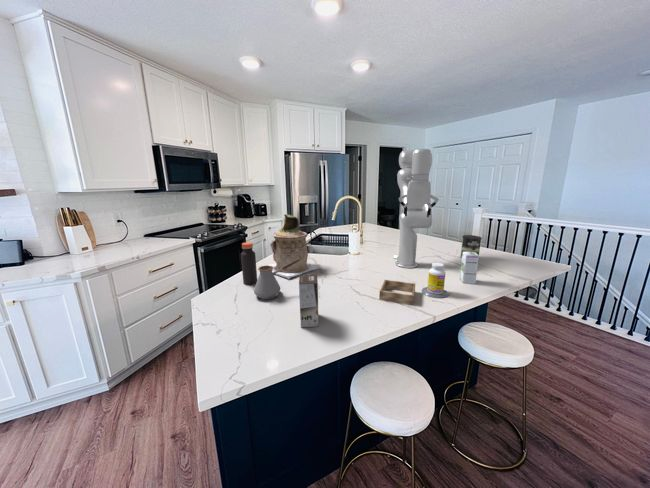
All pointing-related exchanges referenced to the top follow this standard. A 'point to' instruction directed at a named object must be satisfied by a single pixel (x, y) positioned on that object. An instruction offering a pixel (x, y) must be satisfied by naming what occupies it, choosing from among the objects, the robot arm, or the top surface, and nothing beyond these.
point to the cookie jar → (290, 250)
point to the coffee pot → (268, 282)
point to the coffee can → (470, 244)
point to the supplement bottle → (436, 279)
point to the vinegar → (248, 264)
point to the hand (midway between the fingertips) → (416, 216)
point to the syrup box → (469, 267)
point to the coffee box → (308, 300)
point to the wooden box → (397, 296)
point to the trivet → (435, 294)
